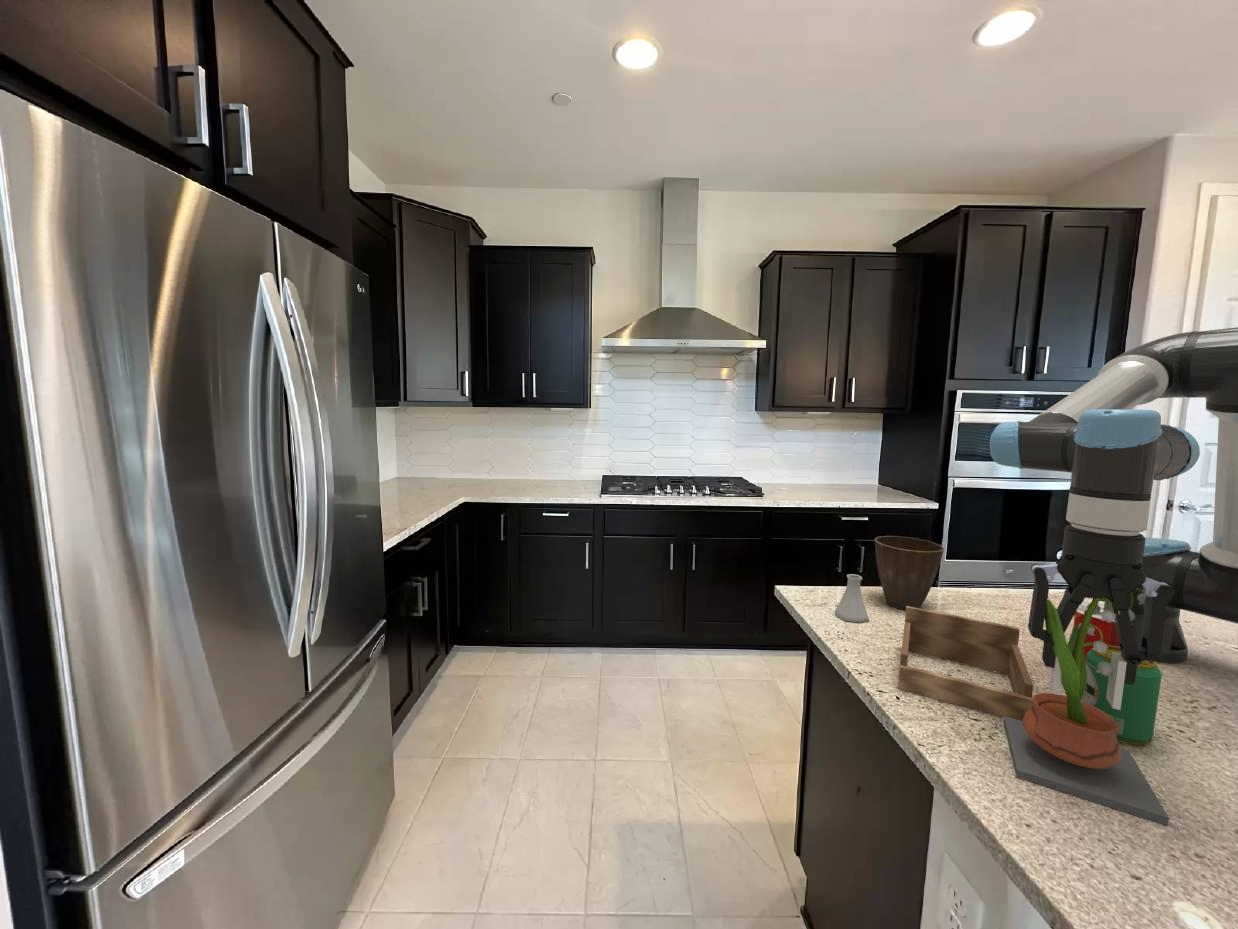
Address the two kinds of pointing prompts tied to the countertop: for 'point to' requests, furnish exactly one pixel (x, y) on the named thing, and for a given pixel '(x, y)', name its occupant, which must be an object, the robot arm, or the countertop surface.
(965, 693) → the frame
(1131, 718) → the beverage can
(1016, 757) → the mat
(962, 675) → the countertop surface
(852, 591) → the flask
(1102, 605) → the paper cup
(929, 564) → the plant pot
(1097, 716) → the potted flower
